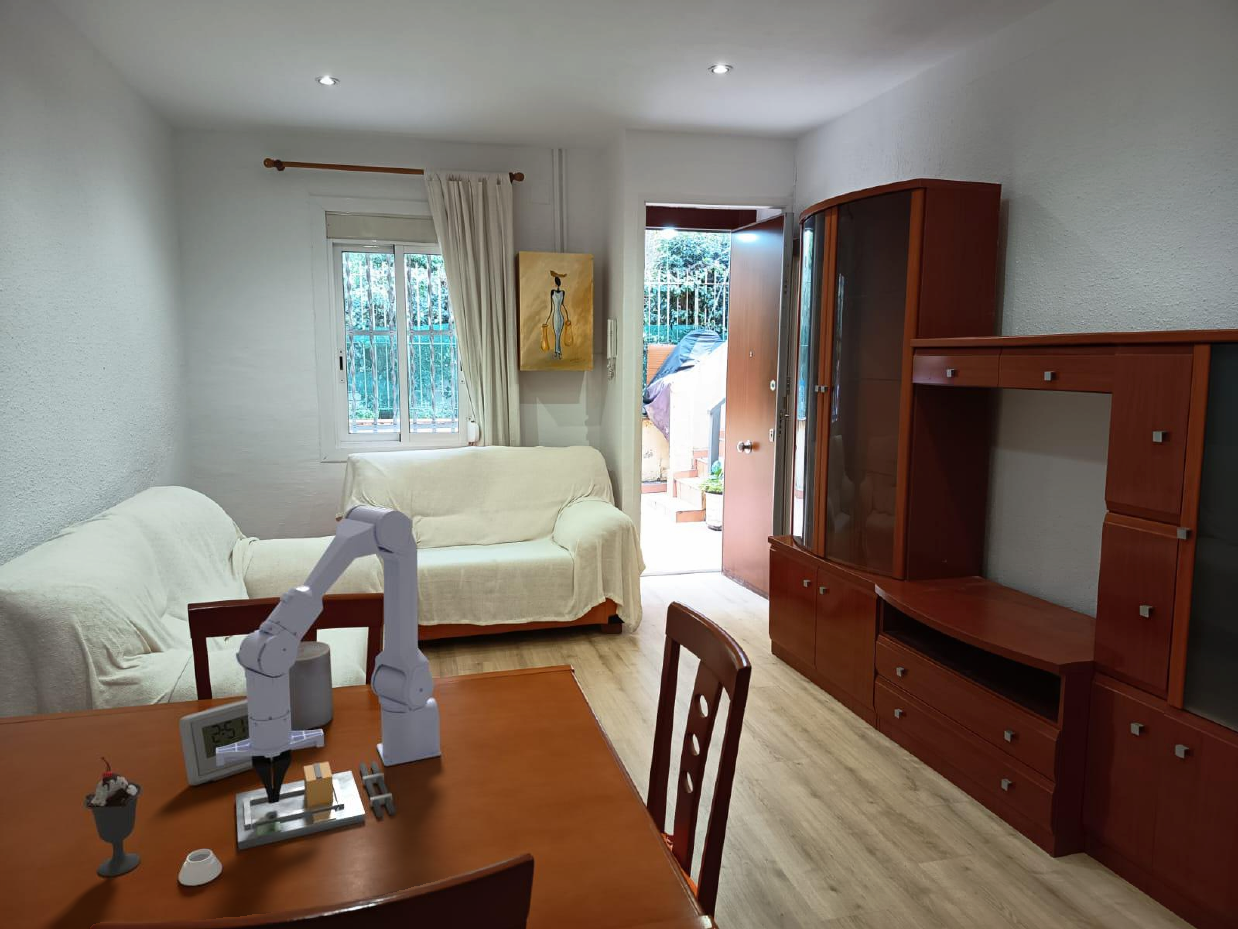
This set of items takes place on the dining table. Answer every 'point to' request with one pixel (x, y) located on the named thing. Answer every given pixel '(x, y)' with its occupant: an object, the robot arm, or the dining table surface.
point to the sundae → (115, 819)
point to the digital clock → (214, 741)
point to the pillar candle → (311, 686)
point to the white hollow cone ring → (200, 868)
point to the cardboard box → (318, 784)
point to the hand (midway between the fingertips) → (273, 799)
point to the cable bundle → (368, 781)
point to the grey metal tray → (295, 812)
